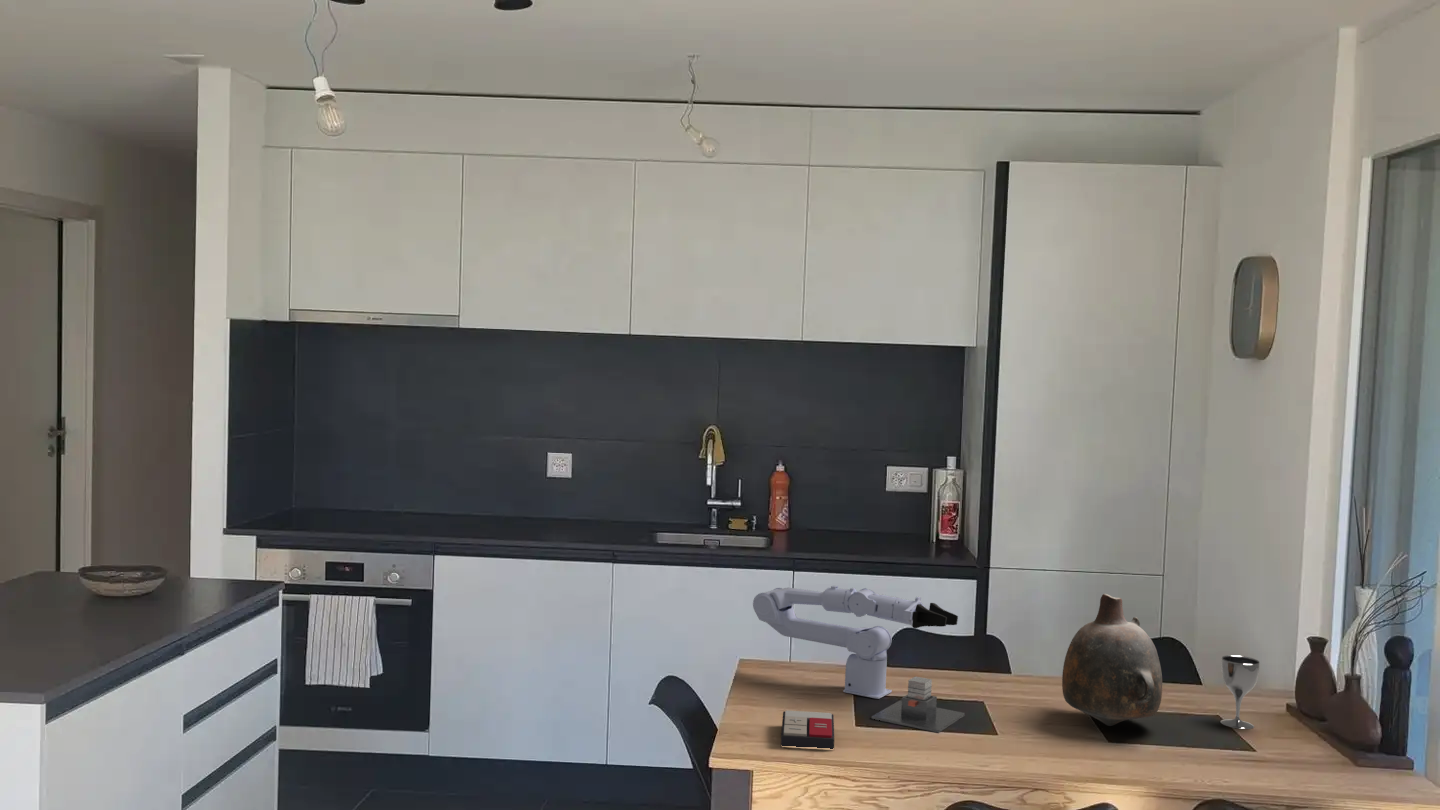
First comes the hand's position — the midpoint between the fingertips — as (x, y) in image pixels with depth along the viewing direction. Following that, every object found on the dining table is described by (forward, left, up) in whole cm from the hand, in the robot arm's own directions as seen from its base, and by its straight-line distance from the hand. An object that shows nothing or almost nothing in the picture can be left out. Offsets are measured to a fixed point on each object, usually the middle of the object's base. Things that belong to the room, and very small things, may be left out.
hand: (951, 621), depth 281 cm
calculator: (-16, -40, -21) cm, 48 cm away
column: (-3, -11, -21) cm, 24 cm away
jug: (+34, +11, -21) cm, 41 cm away
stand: (-3, -11, -21) cm, 24 cm away
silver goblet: (+58, +31, -21) cm, 69 cm away
